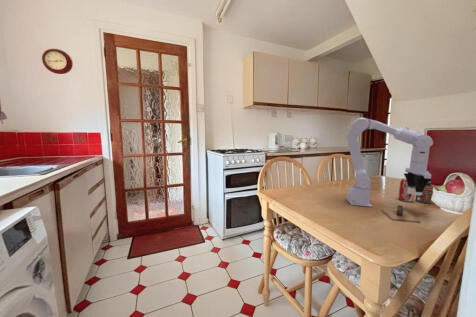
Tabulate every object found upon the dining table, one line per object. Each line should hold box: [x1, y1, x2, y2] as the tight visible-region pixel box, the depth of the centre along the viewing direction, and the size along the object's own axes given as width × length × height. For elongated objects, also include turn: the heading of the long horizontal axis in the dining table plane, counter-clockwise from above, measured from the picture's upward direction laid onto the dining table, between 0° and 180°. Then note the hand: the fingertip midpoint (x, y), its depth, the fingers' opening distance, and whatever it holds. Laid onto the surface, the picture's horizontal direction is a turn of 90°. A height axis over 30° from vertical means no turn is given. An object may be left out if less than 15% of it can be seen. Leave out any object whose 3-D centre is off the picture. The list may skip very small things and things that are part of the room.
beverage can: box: [397, 177, 415, 203], centre depth 104 cm, size 6×6×12 cm
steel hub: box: [407, 186, 422, 196], centre depth 89 cm, size 5×5×3 cm
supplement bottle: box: [415, 181, 434, 205], centre depth 103 cm, size 6×6×11 cm
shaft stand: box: [380, 204, 421, 224], centre depth 84 cm, size 10×10×5 cm
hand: (414, 190), depth 89 cm, fingers closed on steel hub, 5 cm apart
